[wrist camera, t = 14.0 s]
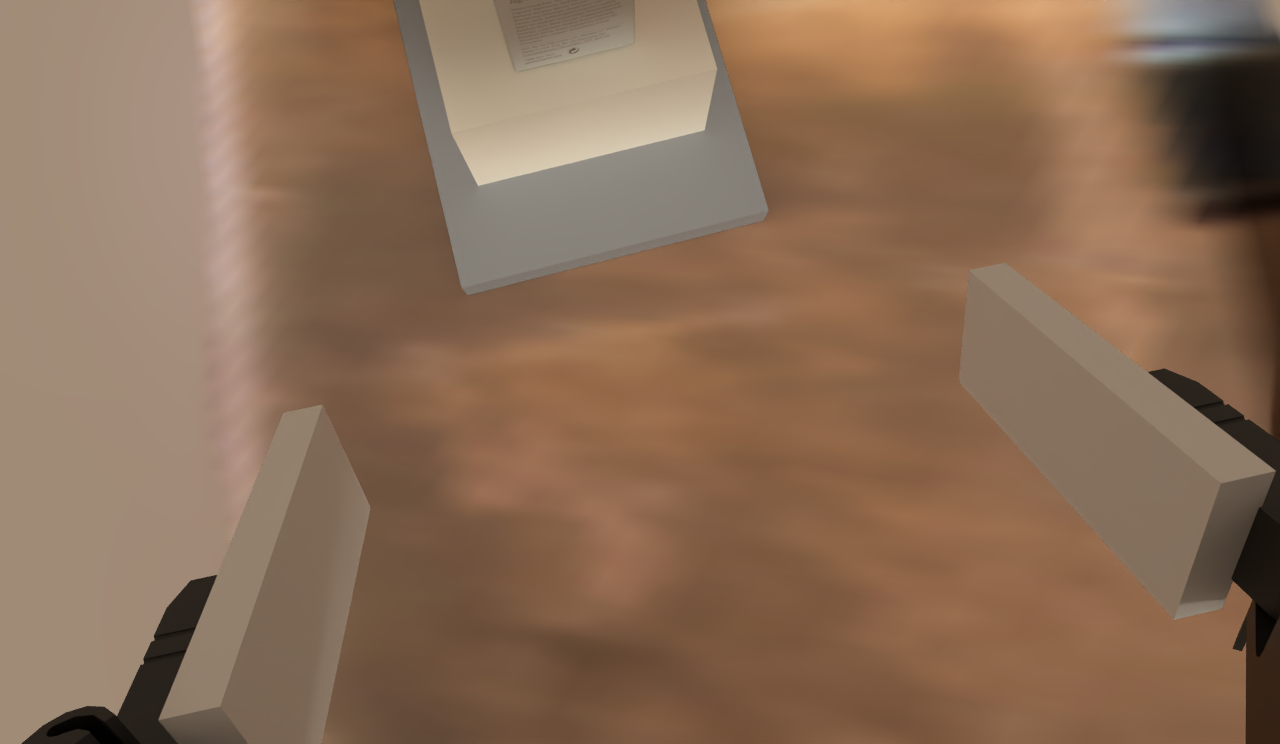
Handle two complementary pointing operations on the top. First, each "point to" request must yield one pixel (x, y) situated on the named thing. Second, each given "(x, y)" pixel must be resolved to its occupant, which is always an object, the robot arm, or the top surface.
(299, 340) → the top surface
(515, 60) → the small box
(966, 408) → the top surface
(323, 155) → the top surface
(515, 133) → the pedestal
